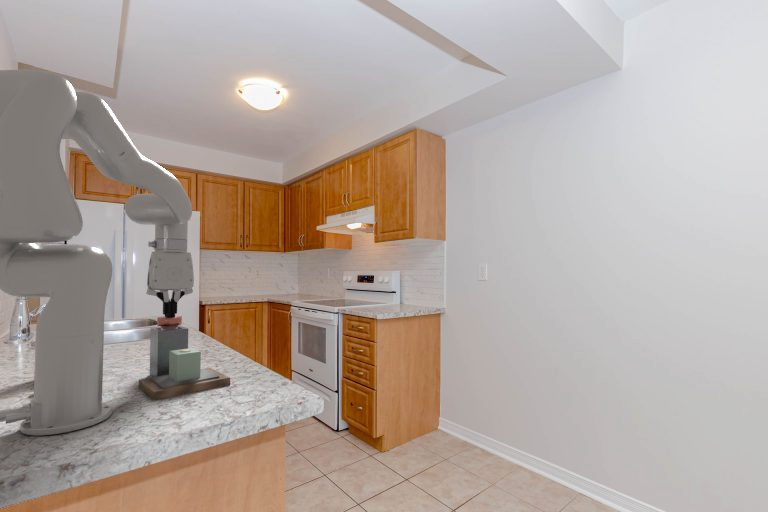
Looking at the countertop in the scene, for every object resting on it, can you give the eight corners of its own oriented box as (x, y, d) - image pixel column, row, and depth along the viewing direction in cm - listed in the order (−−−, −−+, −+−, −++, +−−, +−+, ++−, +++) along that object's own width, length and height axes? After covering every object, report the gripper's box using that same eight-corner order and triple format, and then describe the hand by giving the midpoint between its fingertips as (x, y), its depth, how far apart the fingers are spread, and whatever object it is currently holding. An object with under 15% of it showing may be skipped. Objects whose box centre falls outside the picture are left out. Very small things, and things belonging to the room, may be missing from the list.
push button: (159, 355, 96) (160, 318, 96) (153, 351, 100) (154, 317, 100) (184, 351, 100) (184, 317, 100) (177, 348, 104) (178, 315, 104)
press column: (157, 380, 95) (158, 331, 95) (149, 374, 100) (150, 328, 100) (187, 374, 100) (188, 328, 100) (178, 370, 105) (179, 325, 105)
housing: (177, 381, 86) (177, 354, 87) (168, 376, 91) (169, 350, 91) (200, 377, 90) (200, 350, 90) (191, 372, 94) (191, 347, 94)
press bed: (153, 400, 80) (153, 390, 80) (138, 386, 89) (138, 378, 89) (230, 384, 91) (230, 375, 91) (209, 373, 100) (209, 366, 101)
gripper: (142, 245, 93) (140, 321, 92) (206, 247, 103) (204, 315, 103) (134, 246, 98) (133, 318, 98) (196, 248, 109) (195, 313, 108)
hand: (169, 316), depth 100 cm, fingers closed
